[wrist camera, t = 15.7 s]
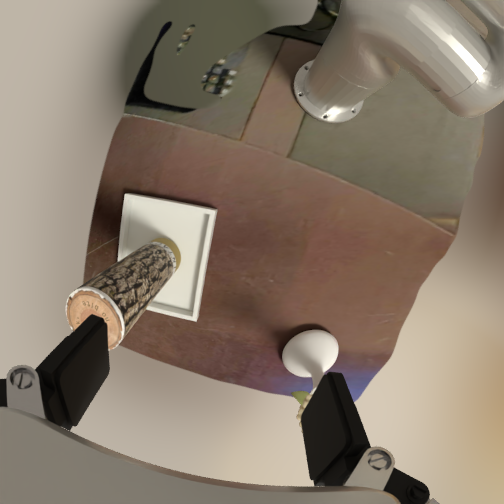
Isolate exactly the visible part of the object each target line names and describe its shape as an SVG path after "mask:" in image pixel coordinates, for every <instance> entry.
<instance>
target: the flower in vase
mask: <svg viewBox="0 0 504 504" xmlns="http://www.w3.org/2000/svg"><path fill="white" fill-rule="evenodd" d="M337 355H338V343H337V341H336V339H335V338H334V336H333V335H331V334H330V333H328V332H326V331H322V330H308V331H304V332H302V333H300V334H298V335H296V336H294V337H293V338H292V339H291V340H290V341H289V342H288V343H287V344H286V346H285V348H284V350H283V354H282V360H283V363H284V365H285V367H286V368H287V369H288V370H289V371H290V372H291V373H293V374H295V375H297V376H301V377H312V379H313V390H312V391H311V392H310V394H309V393H308V392H305V391H297V392H292V393H291V394H292V395H293V396H294V397H295V398H296V399H297V401H298V402H299V403H300V404H301V406H300V410H299V411H298V415H297V419H298V420H300V423H299V425H300V427H302V425H301V415H302V413H303V411H304V409H305V408H306V406H307V404H308V402H309V400H310V399H311V397H312V395H313V393H314V392H315V390H316V388H317V386H318V384H319V382H320V380H321V378H322V377H323V375H324V372H325V371H326V370H328V369H329V368H330V367H331V366H332V365H333V364H334V362H335V361H336V358H337ZM302 433H303V431H302Z"/></svg>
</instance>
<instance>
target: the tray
mask: <svg viewBox="0 0 504 504" xmlns="http://www.w3.org/2000/svg"><path fill="white" fill-rule="evenodd" d="M217 210H218V209H214V208H209V207H204V206H199V205H194V204H189V203H184V202H178V201H173V200H168V199H162V198H157V197H151V196H145V195H140V194H134V193H127V194H125V197H124V204H123V211H122V219H121V228H120V238H119V250H118V261H120V260H121V259H123V258H124V257H126V256H128V255H129V254H131V253H132V252H134V251H136V250H137V249H139V248H140V247H142V246H144V245H145V244H147V243H149V242H151V241H152V240H154V239H157V238H166V239H169V240H171V241H172V242H174V243H175V244H176V245H177V247H178V248H179V251H180V254H181V262H180V266H179V268H178V269H177V270H176V272H175V273H174V274H173V276H172V277H171V278H170V279H169V280H168V282H167V283H166V284H165V285H164V287H163V288H162V289H161V290H160V292H159V293H158V294H157V295H156V297H155V298H154V299H153V301H152V302H151V303H150V304H149V306H148V307H147V308H146V309H147V310H151V311H155V312H159V313H163V314H167V315H171V316H175V317H179V318H183V319H188V320H192V321H197V319H198V316H199V310H200V304H201V298H202V292H203V286H204V280H205V274H206V268H207V262H208V257H209V251H210V246H211V241H212V235H213V230H214V225H215V220H216V215H217Z"/></svg>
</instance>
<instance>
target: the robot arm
mask: <svg viewBox="0 0 504 504" xmlns="http://www.w3.org/2000/svg"><path fill="white" fill-rule="evenodd" d="M461 1H462V2H463V3H464V4H465V5H466V6H467V7H468V8H469V9H470V10H471V11H472V12H473V13H474V14H475V15H476V16H477V17H478V18H479V19H480V20H481V21H482V22H483V23H484V24H485V25H486V27H487V29H488V35H487V37H486V39H485V40H484V39H483V38H482V37H481V35H480V34H479V33H478V32H477V31H476V30H475V29H474V28H473V27H472V26H471V25H470V24H469V23H468V22H467V21H466V20H465V19H464V18H463V17H462V16H461V15H460V14H459V12H458V11H457V10H456V9H454V8H453V7H452V6H451V5H450V4H449V3H448V2H447V1H446V0H342V1H341V6H340V11H339V15H338V18H337V20H336V22H335V24H334V26H333V28H332V30H331V32H330V34H329V35H328V37H327V39H326V40H325V42H324V44H323V46H322V48H321V49H320V51H319V53H318V55H317V56H316V58H315V59H314V60H311V61H309V62H307V63H305V64H304V65H303V66H302V67H301V68H300V69H299V70H298V72H297V74H296V76H295V79H294V93H295V96H296V99H297V101H298V103H299V104H300V106H301V107H302V108H303V109H304V110H305V111H306V112H307V113H308V114H309V115H311V116H312V117H314V118H316V119H317V120H320V121H323V122H327V123H342V122H345V121H348V120H350V119H351V118H353V117H354V116H356V115H357V114H358V112H359V111H360V110H361V108H362V105H363V101H364V99H365V98H367V97H368V96H370V95H371V94H373V93H374V92H376V91H377V90H379V89H380V88H382V87H384V86H385V85H386V84H388V83H389V82H391V81H392V80H393V79H394V78H395V77H396V76H397V74H398V72H399V70H400V67H402V68H403V69H405V70H407V71H408V72H409V73H410V74H411V75H412V76H413V77H415V78H416V79H417V80H418V81H419V82H420V83H421V84H422V85H423V86H424V87H425V88H426V89H427V90H428V91H430V92H431V93H432V94H433V95H434V96H435V97H436V98H437V99H438V100H439V101H440V102H441V103H442V104H443V105H444V106H445V107H446V108H447V109H448V110H449V111H451V112H452V113H454V114H455V115H457V116H460V117H464V118H472V117H476V116H479V115H481V114H483V113H485V112H487V111H489V110H491V109H492V108H494V107H495V106H496V105H498V104H499V103H501V102H502V101H504V0H461ZM305 69H307V70H305ZM299 95H301V97H300V96H299ZM352 111H353V113H352ZM323 116H325V119H324V118H323ZM109 370H110V367H109V351H108V325H107V323H106V322H105V320H104V318H102V317H99V316H96V315H94V314H91V315H90V316H89V317H88V318H86V319H85V320H84V321H83V322H82V323H81V324H80V325H79V326H78V327H77V328H76V329H75V330H74V331H73V332H72V333H71V334H70V335H69V336H67V337H66V338H65V339H64V340H63V341H62V342H61V343H60V344H59V345H58V346H57V347H56V348H55V349H54V350H53V351H52V352H51V353H50V354H49V355H48V356H47V357H46V359H45V360H43V362H42V363H41V364H40V365H39V366H38V367H37V368H36V369H35V370H34V369H33V368H32V367H29V366H26V365H19V366H15V367H13V368H12V369H11V370H9V372H8V374H7V378H6V379H0V504H439V503H438V502H437V501H436V500H435V499H434V498H433V499H431V500H430V499H429V495H430V494H429V490H428V487H427V486H426V485H425V484H424V483H422V482H420V481H418V480H416V479H414V478H413V477H410V476H409V475H407V474H405V473H403V472H401V471H400V470H397V469H396V468H394V464H395V460H394V457H393V455H392V454H391V453H390V452H389V451H388V450H386V449H384V448H382V447H371V446H370V443H369V441H368V438H367V435H366V432H365V430H364V427H363V424H362V422H361V419H360V416H359V414H358V411H357V408H356V406H355V404H354V402H353V399H352V397H351V394H350V392H349V389H348V387H347V384H346V381H345V379H344V376H343V374H342V373H336V372H328V373H327V375H323V377H322V378H321V380H320V382H319V384H318V386H317V388H316V390H315V392H314V393H313V395H312V397H311V399H310V400H309V402H308V404H307V406H306V408H305V409H304V411H303V413H302V415H301V425H302V431H303V437H304V444H305V449H306V455H307V462H308V469H309V476H310V479H311V480H314V486H319V487H294V486H268V485H256V484H246V483H238V482H230V481H223V480H217V479H211V478H206V477H201V476H195V475H191V474H187V473H182V472H178V471H174V470H171V469H167V468H163V467H160V466H156V465H153V464H149V463H146V462H143V461H140V460H137V459H134V458H131V457H129V456H126V455H123V454H120V453H118V452H115V451H113V450H110V449H108V448H105V447H103V446H101V445H98V444H96V443H94V442H91V441H89V440H87V439H85V438H82V437H80V436H78V435H76V434H74V433H72V432H70V430H71V428H72V426H77V425H78V423H79V421H80V419H81V418H82V416H83V415H84V413H85V411H86V410H87V408H88V406H89V405H90V403H91V401H92V400H93V398H94V396H95V395H96V393H97V392H98V390H99V389H100V387H101V385H102V384H103V382H104V381H105V379H106V378H107V376H108V374H109ZM62 427H63V428H62ZM64 428H65V429H64ZM66 429H67V430H66ZM68 430H69V431H68Z"/></svg>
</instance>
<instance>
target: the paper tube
mask: <svg viewBox="0 0 504 504" xmlns="http://www.w3.org/2000/svg"><path fill="white" fill-rule="evenodd" d="M180 262H181V254H180V251H179V248H178V247H177V245H176V244H175V243H174V242H172V241H171V240H169V239H166V238H157V239H154V240H152V241H151V242H149V243H147V244H145V245H144V246H142V247H140V248H139V249H137V250H136V251H134V252H132V253H131V254H129V255H128V256H126V257H124V258H123V259H121V260H120V261H118V262H117V263H115V264H113V265H112V266H110V267H109V268H107V269H106V270H104V271H103V272H101V273H100V274H98V275H97V276H95V277H94V278H92V279H91V280H89V281H88V282H86V283H85V284H83V285H82V286H80V287H79V288H77V289H76V290H75V291H74V292H72V293H71V294H70V296H69V297H68V299H67V302H66V316H67V320H68V322H69V325H70V327H71V329H72V330H73V331H74V330H75V329H76V328H77V327H78V326H79V325H80V324H81V323H82V322H83V321H84V320H85V319H86V318H88V317H89V316H90V315H91V314H94V315H96V316H99V317H102V318H104V320H105V322H106V323H107V325H108V351H109V350H112V349H114V348H115V347H117V346H118V344H119V343H120V342H121V341H122V340H123V338H124V337H125V336H126V334H127V333H128V332H129V330H130V329H131V328H132V326H133V325H134V324H135V322H136V321H137V320H138V319H139V317H140V316H141V315H142V313H143V312H144V311H145V309H146V308H147V307H148V306H149V304H150V303H151V302H152V301H153V299H154V298H155V297H156V295H157V294H158V293H159V292H160V290H161V289H162V288H163V287H164V285H165V284H166V283H167V282H168V280H169V279H170V278H171V277H172V276H173V274H174V273H175V272H176V270H177V269H178V268H179V266H180Z"/></svg>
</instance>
